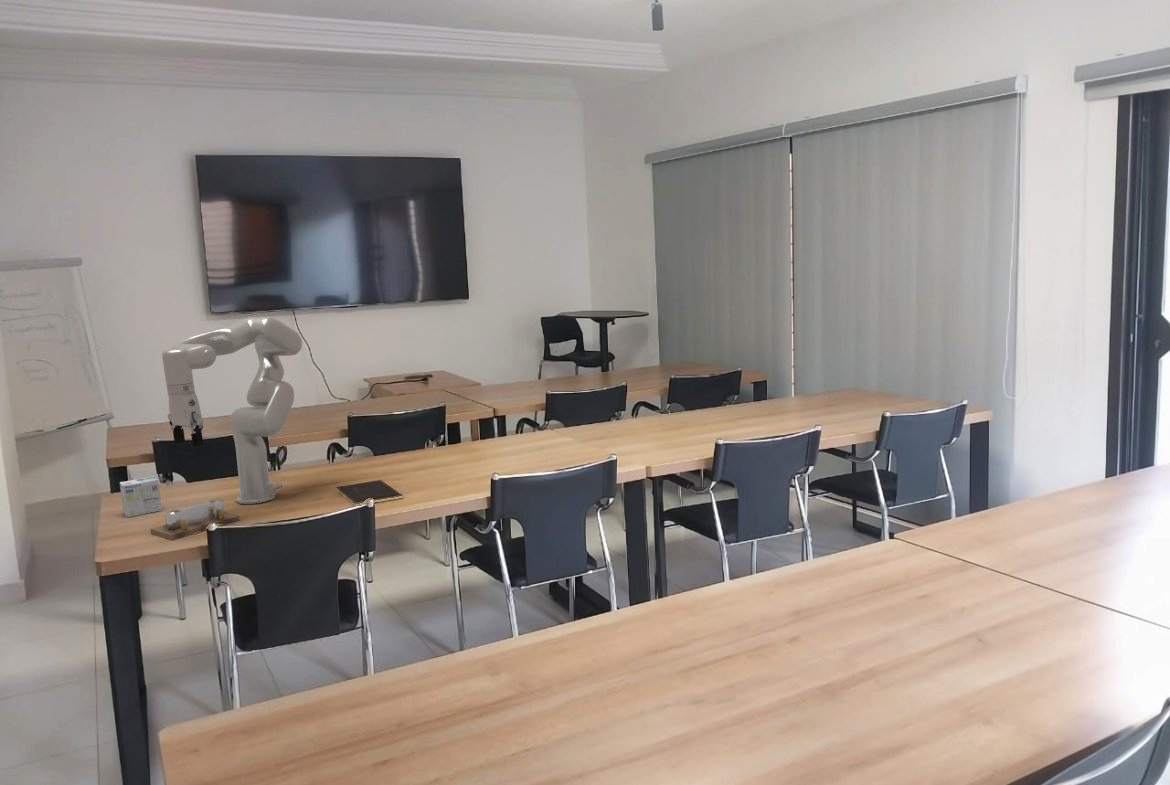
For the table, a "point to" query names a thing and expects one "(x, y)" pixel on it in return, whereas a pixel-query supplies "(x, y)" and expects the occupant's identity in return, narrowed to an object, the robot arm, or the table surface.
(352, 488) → the hardcover book
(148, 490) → the light bulb box
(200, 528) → the tool board
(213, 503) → the silver dumbbell
